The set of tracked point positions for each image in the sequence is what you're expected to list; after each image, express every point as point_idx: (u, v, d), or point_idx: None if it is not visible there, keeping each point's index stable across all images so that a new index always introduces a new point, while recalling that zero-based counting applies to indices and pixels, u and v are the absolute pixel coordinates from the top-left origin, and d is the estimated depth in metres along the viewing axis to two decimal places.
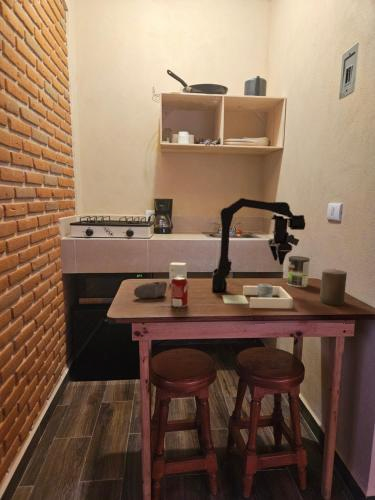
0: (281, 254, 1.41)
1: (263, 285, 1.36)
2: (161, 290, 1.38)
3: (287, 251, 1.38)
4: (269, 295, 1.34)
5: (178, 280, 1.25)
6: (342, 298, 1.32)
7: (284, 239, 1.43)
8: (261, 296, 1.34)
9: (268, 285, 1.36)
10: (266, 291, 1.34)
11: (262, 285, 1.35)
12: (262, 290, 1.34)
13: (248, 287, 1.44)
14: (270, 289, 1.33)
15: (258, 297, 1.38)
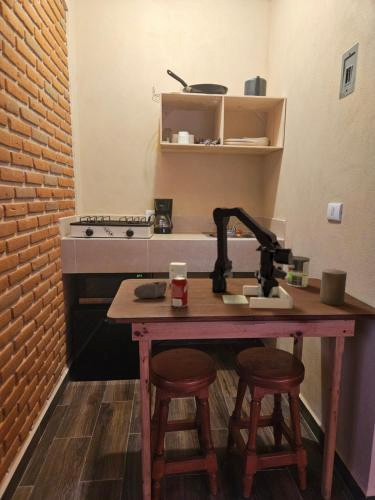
0: (266, 289, 1.32)
1: None
2: (161, 290, 1.38)
3: None
4: (269, 295, 1.34)
5: (178, 280, 1.25)
6: (342, 298, 1.32)
7: (270, 273, 1.32)
8: (261, 296, 1.34)
9: None
10: None
11: None
12: None
13: (248, 287, 1.44)
14: None
15: (258, 297, 1.38)
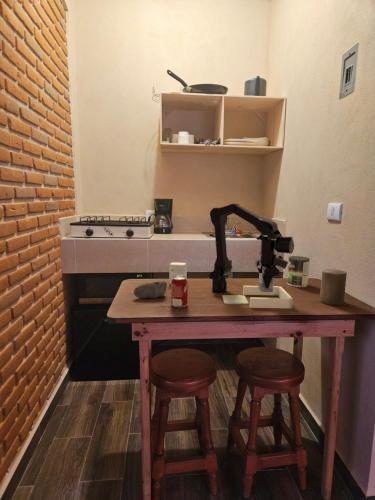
0: (267, 277, 1.31)
1: None
2: (161, 290, 1.38)
3: (273, 274, 1.29)
4: (270, 284, 1.33)
5: (178, 280, 1.25)
6: (342, 298, 1.32)
7: (271, 262, 1.31)
8: (262, 285, 1.33)
9: None
10: None
11: None
12: None
13: (248, 287, 1.44)
14: None
15: (259, 286, 1.37)
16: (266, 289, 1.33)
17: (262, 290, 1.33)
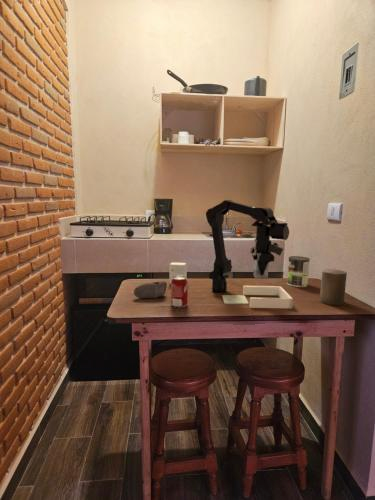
0: (262, 264, 1.30)
1: None
2: (161, 290, 1.38)
3: (268, 261, 1.28)
4: (265, 271, 1.32)
5: (178, 280, 1.25)
6: (342, 298, 1.32)
7: (266, 248, 1.31)
8: (257, 272, 1.32)
9: None
10: None
11: None
12: None
13: (248, 287, 1.44)
14: None
15: (254, 273, 1.36)
16: (261, 276, 1.33)
17: (257, 277, 1.33)
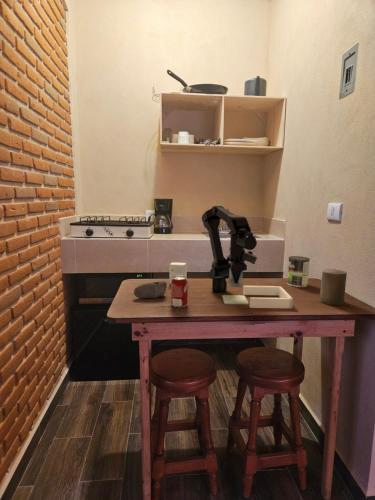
0: (236, 273, 1.31)
1: None
2: (161, 290, 1.38)
3: (241, 270, 1.29)
4: (239, 279, 1.33)
5: (178, 280, 1.25)
6: (342, 298, 1.32)
7: (240, 257, 1.31)
8: (231, 280, 1.33)
9: None
10: None
11: None
12: None
13: (248, 287, 1.44)
14: None
15: (229, 282, 1.37)
16: (235, 284, 1.33)
17: (231, 285, 1.33)
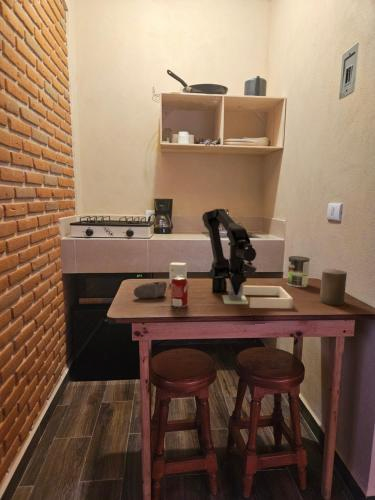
0: (236, 284, 1.31)
1: None
2: (161, 290, 1.38)
3: (241, 281, 1.28)
4: (239, 293, 1.34)
5: (178, 280, 1.25)
6: (342, 298, 1.32)
7: (240, 268, 1.32)
8: (231, 294, 1.34)
9: None
10: None
11: None
12: (231, 288, 1.34)
13: (248, 287, 1.44)
14: None
15: None
16: (235, 298, 1.34)
17: (231, 299, 1.34)
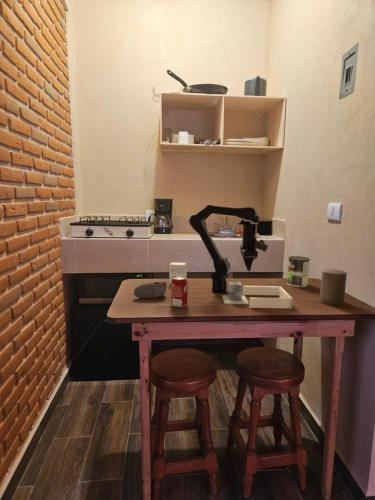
0: (248, 260, 1.38)
1: (233, 283, 1.36)
2: (161, 290, 1.38)
3: (253, 257, 1.35)
4: (239, 293, 1.34)
5: (178, 280, 1.25)
6: (342, 298, 1.32)
7: (252, 245, 1.40)
8: (231, 294, 1.34)
9: (238, 283, 1.36)
10: (235, 289, 1.34)
11: (232, 283, 1.36)
12: (231, 288, 1.34)
13: (248, 287, 1.44)
14: (239, 287, 1.33)
15: None
16: (235, 298, 1.34)
17: (231, 299, 1.34)
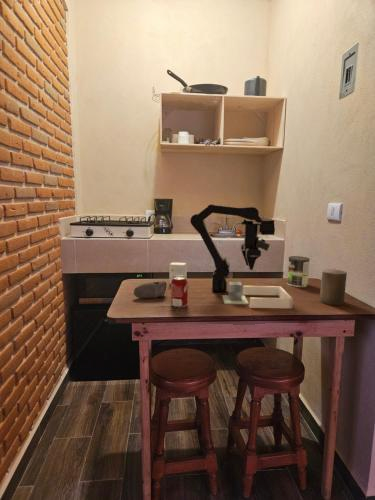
0: (251, 259, 1.40)
1: (233, 283, 1.36)
2: (161, 290, 1.38)
3: (256, 256, 1.38)
4: (239, 293, 1.34)
5: (178, 280, 1.25)
6: (342, 298, 1.32)
7: (254, 244, 1.42)
8: (231, 294, 1.34)
9: (238, 283, 1.36)
10: (235, 289, 1.34)
11: (232, 283, 1.36)
12: (231, 288, 1.34)
13: (248, 287, 1.44)
14: (239, 287, 1.33)
15: None
16: (235, 298, 1.34)
17: (231, 299, 1.34)
